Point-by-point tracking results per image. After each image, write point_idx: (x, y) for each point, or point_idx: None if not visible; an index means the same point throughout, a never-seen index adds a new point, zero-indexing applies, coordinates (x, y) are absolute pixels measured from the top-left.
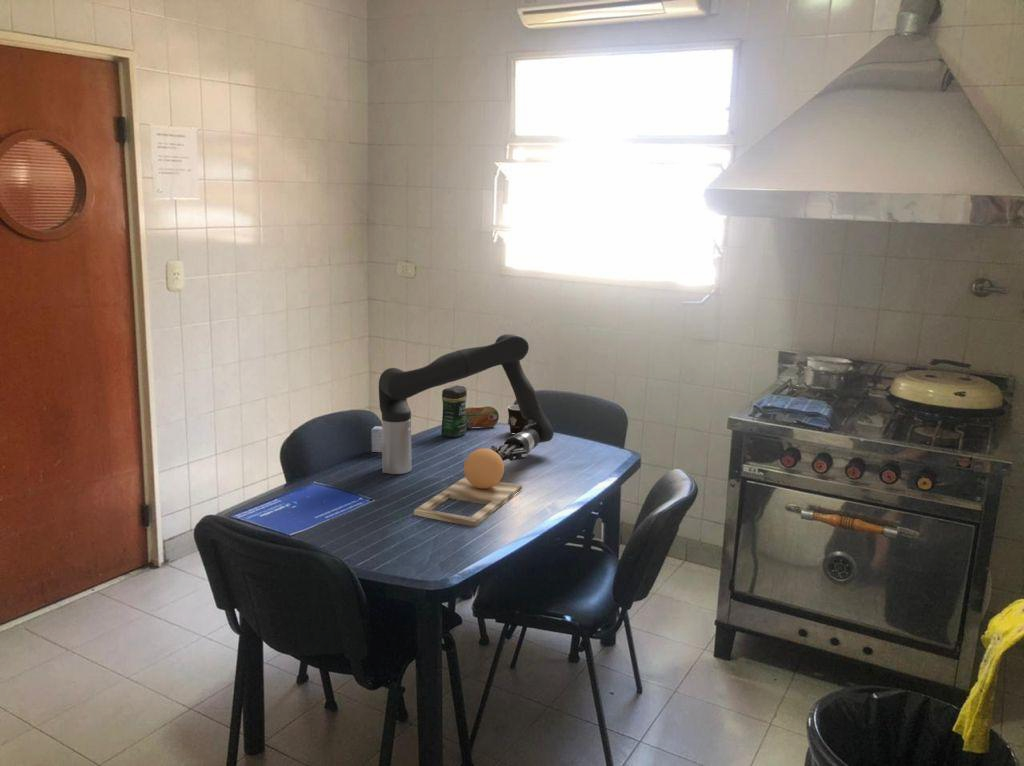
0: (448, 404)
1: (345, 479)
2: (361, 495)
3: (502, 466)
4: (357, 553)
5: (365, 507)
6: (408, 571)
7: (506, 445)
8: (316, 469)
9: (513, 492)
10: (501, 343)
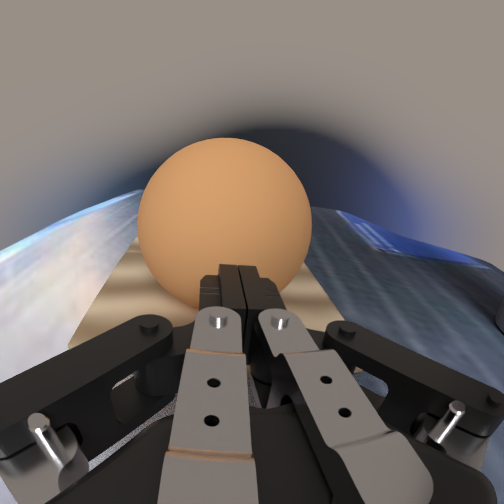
0: None
1: (489, 280)
2: (408, 255)
3: (140, 202)
4: None
5: (356, 237)
6: None
7: (367, 449)
8: None
9: (97, 296)
10: None
